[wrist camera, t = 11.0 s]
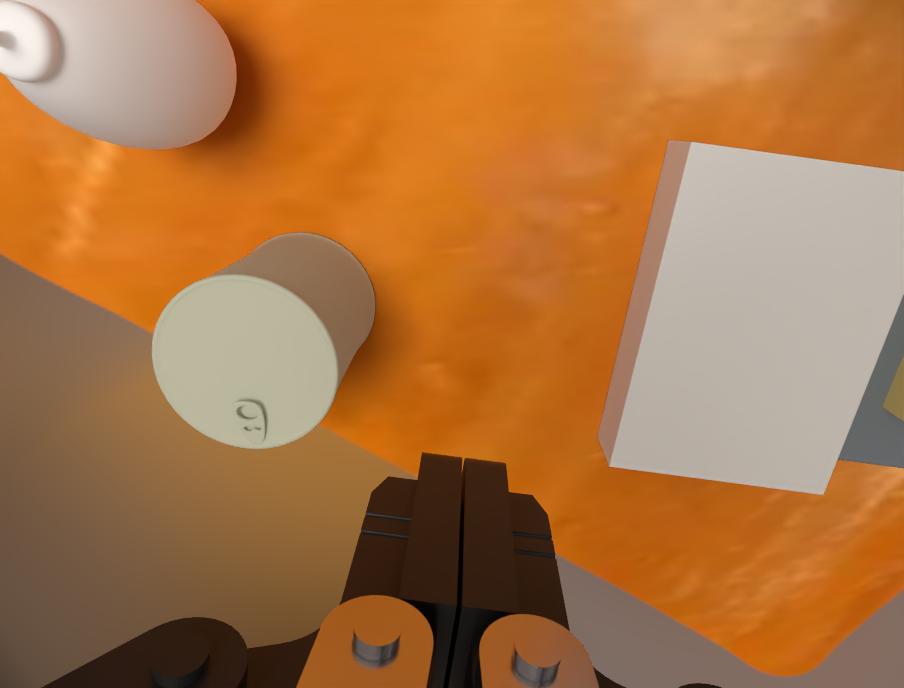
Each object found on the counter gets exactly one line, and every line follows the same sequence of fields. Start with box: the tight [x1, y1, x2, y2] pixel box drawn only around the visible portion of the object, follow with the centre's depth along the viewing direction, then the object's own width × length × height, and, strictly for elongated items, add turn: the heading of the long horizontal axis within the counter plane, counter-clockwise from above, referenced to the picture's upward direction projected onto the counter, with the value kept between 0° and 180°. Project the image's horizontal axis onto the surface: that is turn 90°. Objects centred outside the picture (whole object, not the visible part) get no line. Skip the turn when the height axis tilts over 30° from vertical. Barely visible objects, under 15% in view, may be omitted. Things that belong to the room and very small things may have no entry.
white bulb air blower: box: [0, 0, 237, 150], centre depth 27 cm, size 8×8×18 cm
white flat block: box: [597, 140, 904, 495], centre depth 37 cm, size 20×14×4 cm
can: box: [152, 232, 375, 449], centre depth 34 cm, size 9×9×12 cm
